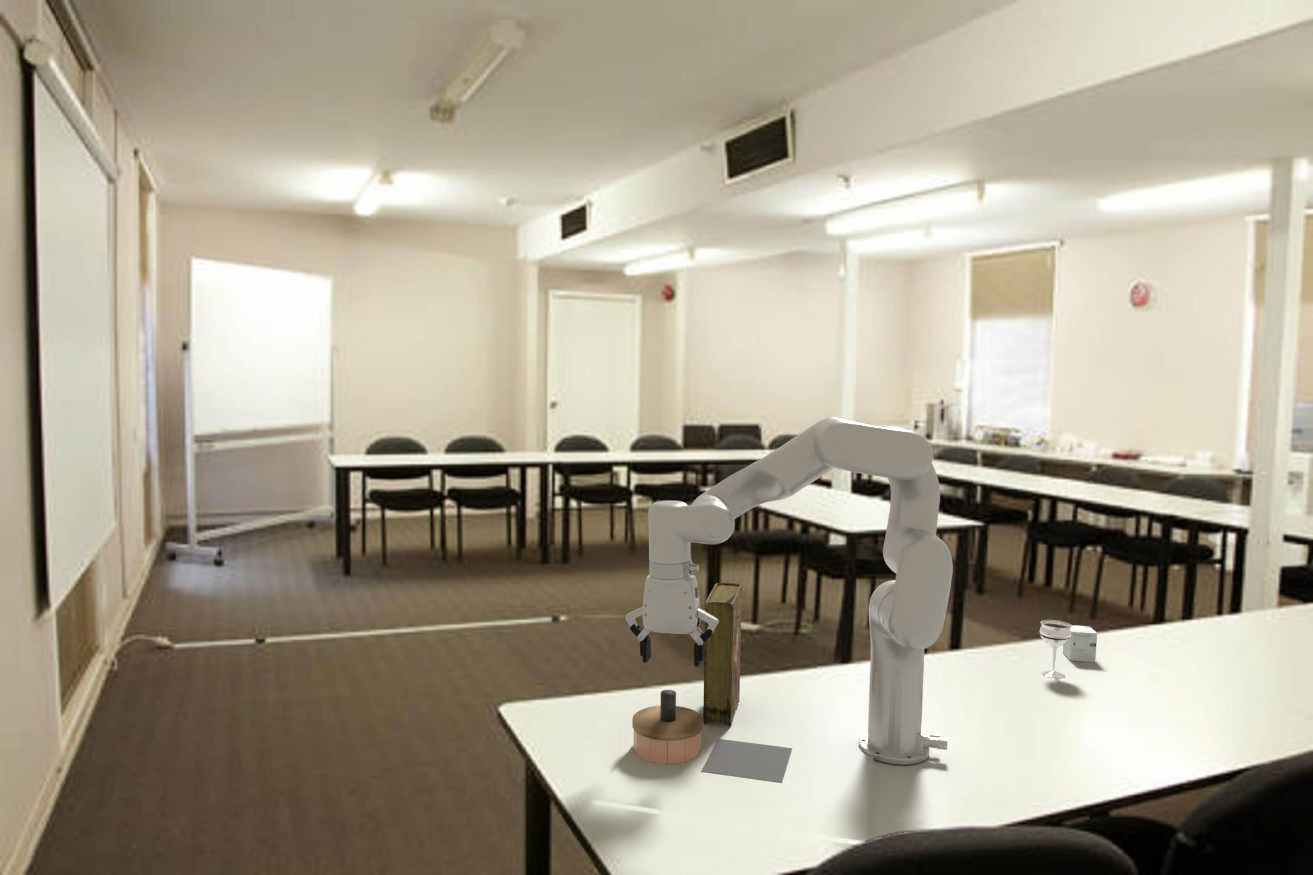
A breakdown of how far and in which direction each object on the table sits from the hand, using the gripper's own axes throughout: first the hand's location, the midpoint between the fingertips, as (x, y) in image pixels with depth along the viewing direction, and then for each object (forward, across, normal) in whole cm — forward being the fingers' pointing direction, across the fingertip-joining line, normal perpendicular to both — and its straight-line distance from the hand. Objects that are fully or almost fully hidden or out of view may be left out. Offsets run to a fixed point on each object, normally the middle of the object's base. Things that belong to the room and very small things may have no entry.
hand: (672, 662), depth 161 cm
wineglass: (+20, -74, -66) cm, 101 cm away
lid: (+12, +1, 0) cm, 12 cm away
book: (+18, -5, -21) cm, 27 cm away
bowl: (+17, +1, 0) cm, 17 cm away
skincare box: (+21, -82, -81) cm, 117 cm away
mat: (+17, -14, 0) cm, 22 cm away
